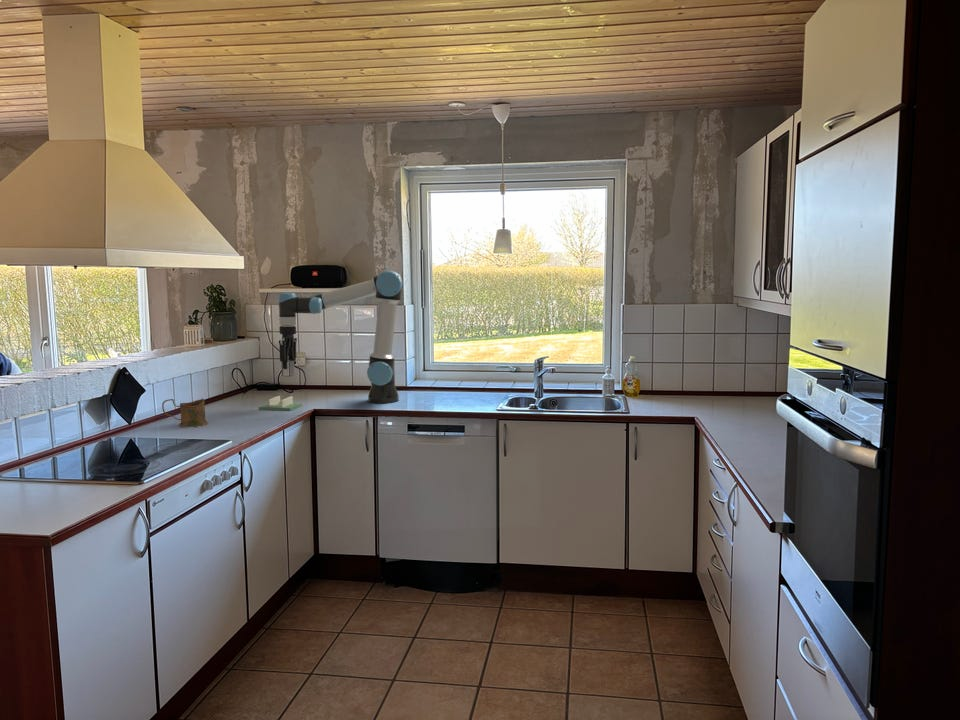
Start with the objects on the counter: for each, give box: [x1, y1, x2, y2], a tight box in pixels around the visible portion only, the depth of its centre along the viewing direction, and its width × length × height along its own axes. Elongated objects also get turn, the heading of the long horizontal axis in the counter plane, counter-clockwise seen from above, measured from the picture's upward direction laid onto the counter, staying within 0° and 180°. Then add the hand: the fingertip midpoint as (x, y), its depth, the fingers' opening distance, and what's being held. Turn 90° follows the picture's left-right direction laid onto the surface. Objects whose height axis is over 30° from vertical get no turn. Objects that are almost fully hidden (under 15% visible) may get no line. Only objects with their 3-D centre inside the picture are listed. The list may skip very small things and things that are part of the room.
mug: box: [161, 398, 209, 428], centre depth 302 cm, size 12×18×12 cm, turn 126°
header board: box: [258, 395, 303, 412], centre depth 339 cm, size 16×12×5 cm
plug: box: [281, 359, 295, 378], centre depth 337 cm, size 4×4×7 cm
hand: (288, 374), depth 338 cm, fingers closed on plug, 4 cm apart
